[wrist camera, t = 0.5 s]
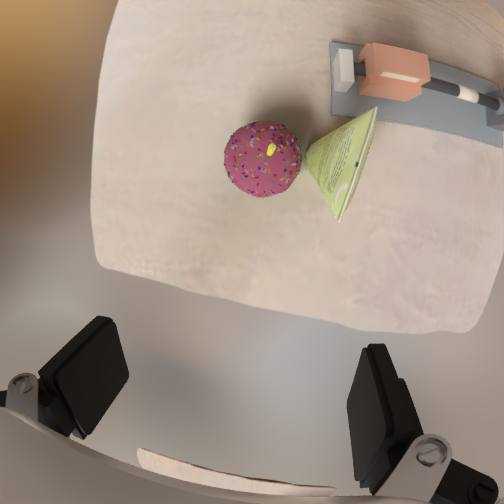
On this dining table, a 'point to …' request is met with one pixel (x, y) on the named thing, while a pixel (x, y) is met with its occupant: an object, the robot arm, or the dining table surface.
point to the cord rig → (423, 99)
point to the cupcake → (262, 158)
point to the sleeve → (392, 72)
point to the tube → (341, 160)
